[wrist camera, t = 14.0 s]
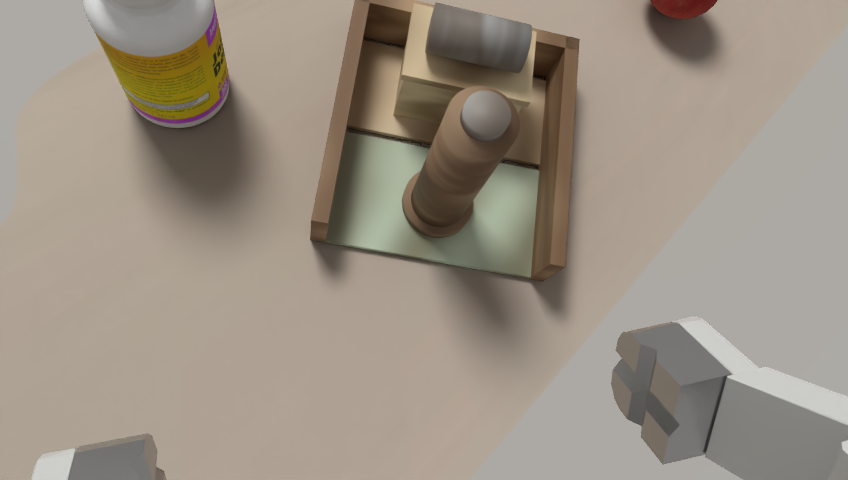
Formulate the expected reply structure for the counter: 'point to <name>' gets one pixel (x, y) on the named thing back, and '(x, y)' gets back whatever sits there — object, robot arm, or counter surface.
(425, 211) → the brown wooden pepper mill
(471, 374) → the counter surface
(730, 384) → the robot arm
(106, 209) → the counter surface
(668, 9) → the onion
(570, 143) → the bay
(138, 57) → the supplement bottle
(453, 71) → the block with grey roller
